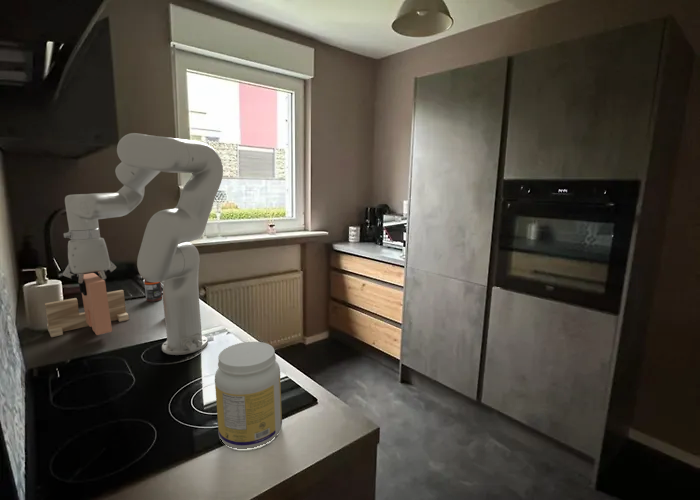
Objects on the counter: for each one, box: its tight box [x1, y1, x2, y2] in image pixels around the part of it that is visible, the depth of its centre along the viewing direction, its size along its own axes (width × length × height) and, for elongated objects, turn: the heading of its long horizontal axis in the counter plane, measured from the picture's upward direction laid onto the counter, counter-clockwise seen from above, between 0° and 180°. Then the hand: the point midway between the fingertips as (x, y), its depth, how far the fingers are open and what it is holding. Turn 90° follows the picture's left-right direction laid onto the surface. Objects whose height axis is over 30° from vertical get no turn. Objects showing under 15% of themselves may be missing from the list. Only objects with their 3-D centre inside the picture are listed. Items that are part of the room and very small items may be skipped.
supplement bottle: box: [143, 279, 163, 303], centre depth 156 cm, size 6×6×11 cm
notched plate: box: [81, 272, 113, 336], centre depth 120 cm, size 16×4×16 cm, turn 44°
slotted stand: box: [44, 289, 130, 338], centre depth 130 cm, size 8×22×10 cm, turn 134°
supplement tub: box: [214, 341, 283, 449], centre depth 73 cm, size 12×12×17 cm
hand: (93, 292), depth 119 cm, fingers closed on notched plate, 4 cm apart
